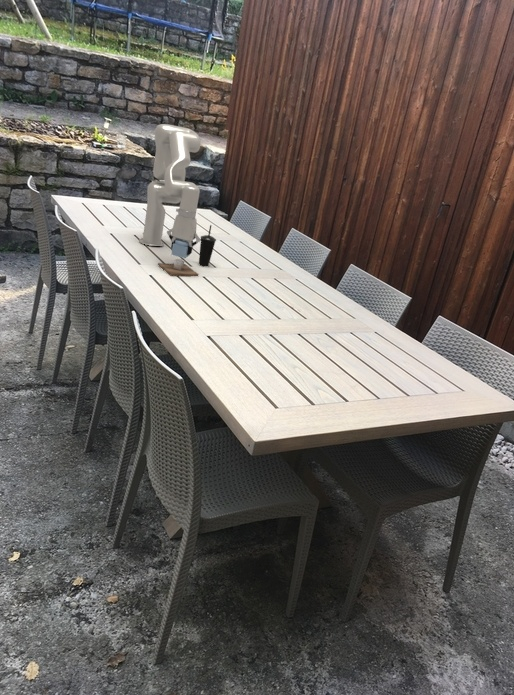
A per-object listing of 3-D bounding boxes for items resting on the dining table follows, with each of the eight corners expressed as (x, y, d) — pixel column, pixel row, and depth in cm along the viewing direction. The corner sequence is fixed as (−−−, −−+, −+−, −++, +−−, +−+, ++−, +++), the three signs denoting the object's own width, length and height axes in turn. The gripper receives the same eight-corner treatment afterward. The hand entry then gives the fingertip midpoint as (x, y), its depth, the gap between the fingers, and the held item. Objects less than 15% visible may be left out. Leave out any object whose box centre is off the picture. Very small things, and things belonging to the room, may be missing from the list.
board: (157, 265, 270) (158, 263, 270) (184, 266, 278) (185, 264, 278) (170, 276, 260) (170, 273, 259) (198, 276, 268) (198, 274, 267)
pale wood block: (173, 268, 267) (174, 260, 266) (176, 266, 270) (177, 258, 269) (180, 270, 267) (181, 262, 265) (182, 268, 270) (184, 260, 268)
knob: (171, 254, 263) (173, 238, 260) (176, 251, 269) (178, 236, 267) (185, 258, 262) (187, 242, 260) (189, 255, 269) (192, 239, 266)
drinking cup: (212, 264, 291) (219, 225, 283) (209, 268, 284) (217, 228, 276) (197, 261, 291) (204, 222, 283) (194, 265, 284) (201, 224, 276)
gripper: (166, 210, 256) (160, 249, 263) (203, 219, 254) (196, 259, 261) (171, 208, 263) (165, 246, 270) (208, 217, 261) (201, 255, 268)
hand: (181, 252), depth 265 cm, fingers closed on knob, 6 cm apart
